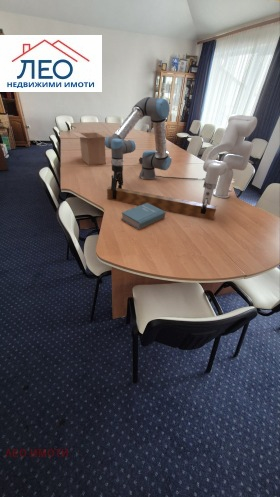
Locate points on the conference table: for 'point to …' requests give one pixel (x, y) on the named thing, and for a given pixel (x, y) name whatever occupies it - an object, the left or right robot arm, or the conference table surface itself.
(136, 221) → the book
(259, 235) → the conference table surface
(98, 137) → the box
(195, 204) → the bar
